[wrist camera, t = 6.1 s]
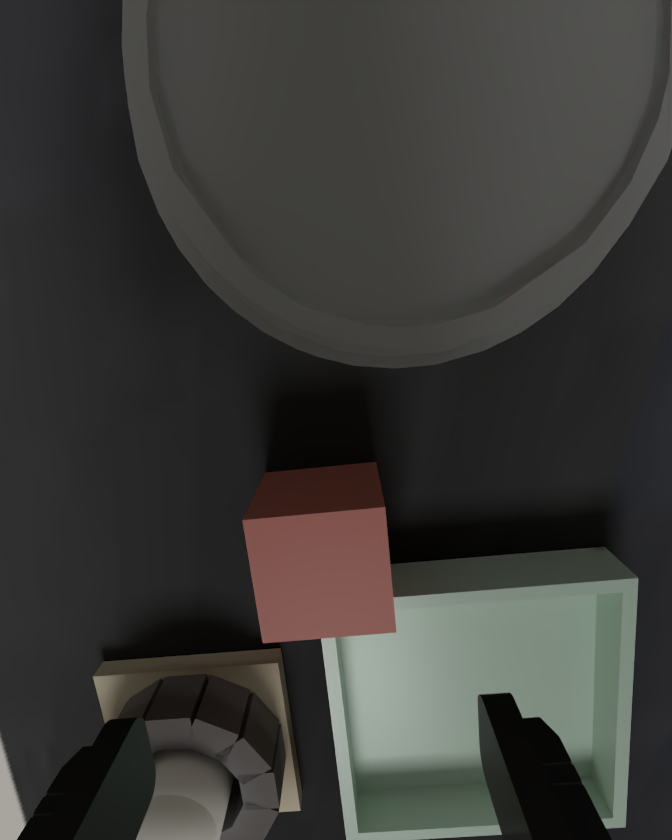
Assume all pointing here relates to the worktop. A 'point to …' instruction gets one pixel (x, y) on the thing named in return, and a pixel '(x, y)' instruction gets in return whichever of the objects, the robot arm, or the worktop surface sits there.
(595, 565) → the tray
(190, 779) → the dome
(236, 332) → the worktop surface
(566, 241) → the disposable coffee cup
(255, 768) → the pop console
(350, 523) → the cube
